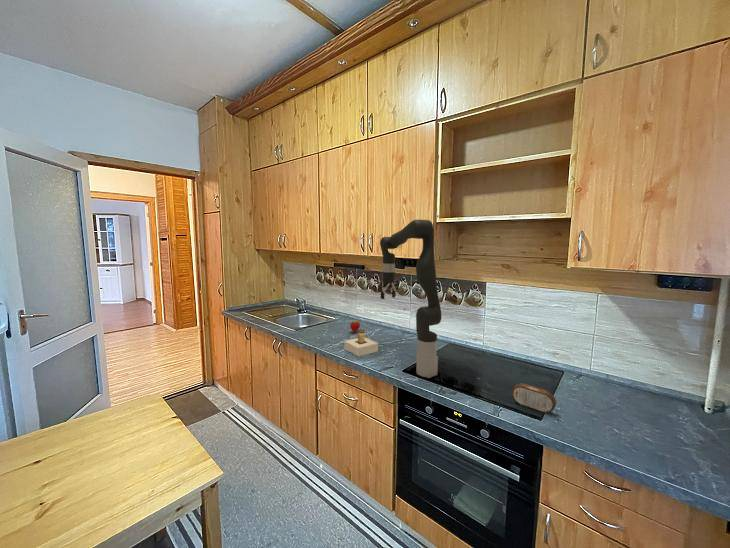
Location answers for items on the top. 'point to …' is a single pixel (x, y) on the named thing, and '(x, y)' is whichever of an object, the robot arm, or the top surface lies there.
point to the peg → (361, 336)
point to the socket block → (361, 347)
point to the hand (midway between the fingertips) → (388, 298)
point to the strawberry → (355, 326)
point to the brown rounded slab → (534, 398)
